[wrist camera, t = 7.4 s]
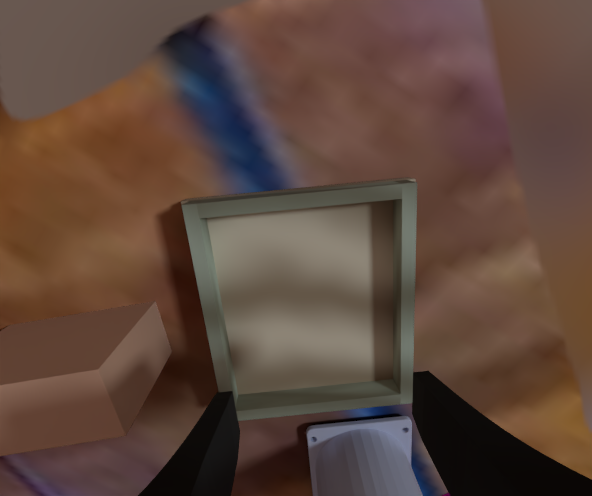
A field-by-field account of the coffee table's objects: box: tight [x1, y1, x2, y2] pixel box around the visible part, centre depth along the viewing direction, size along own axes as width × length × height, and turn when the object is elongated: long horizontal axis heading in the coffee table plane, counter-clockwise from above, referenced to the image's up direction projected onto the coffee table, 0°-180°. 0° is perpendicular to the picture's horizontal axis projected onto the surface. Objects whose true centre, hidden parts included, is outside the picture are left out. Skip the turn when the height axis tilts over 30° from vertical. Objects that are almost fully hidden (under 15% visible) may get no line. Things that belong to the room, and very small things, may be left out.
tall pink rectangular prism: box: [0, 301, 172, 456], centre depth 19 cm, size 4×10×7 cm, turn 99°
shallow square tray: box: [181, 178, 417, 421], centre depth 20 cm, size 15×14×2 cm
